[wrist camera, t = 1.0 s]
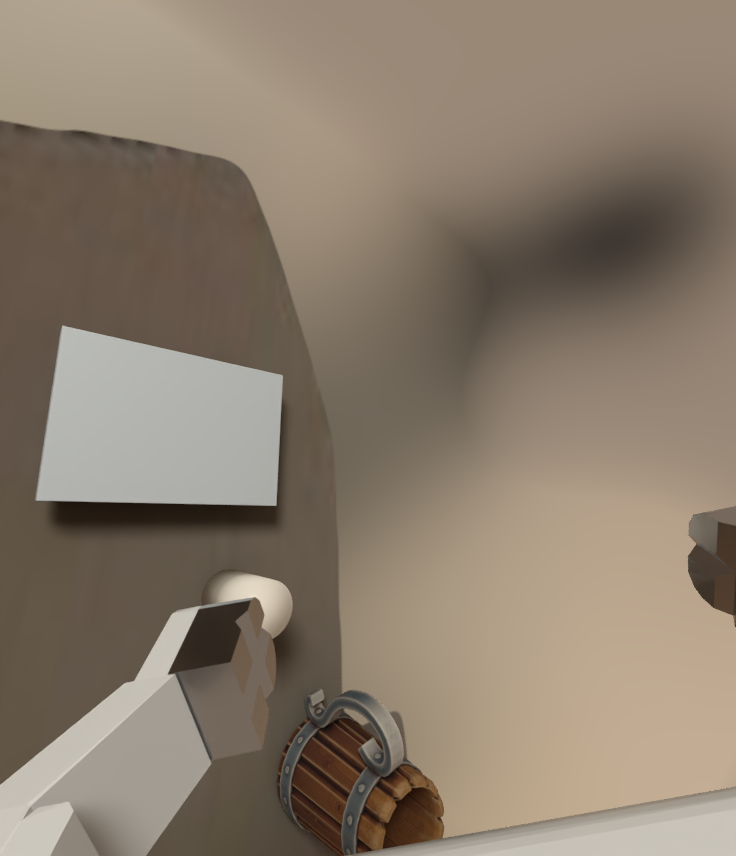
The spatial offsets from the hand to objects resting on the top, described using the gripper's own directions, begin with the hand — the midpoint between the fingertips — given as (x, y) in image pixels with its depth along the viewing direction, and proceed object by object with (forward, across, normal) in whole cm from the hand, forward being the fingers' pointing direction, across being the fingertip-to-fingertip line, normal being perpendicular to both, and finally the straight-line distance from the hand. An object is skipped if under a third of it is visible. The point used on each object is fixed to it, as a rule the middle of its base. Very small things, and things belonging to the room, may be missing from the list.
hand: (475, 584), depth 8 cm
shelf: (+36, +22, +4) cm, 42 cm away
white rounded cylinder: (+32, +20, +21) cm, 43 cm away
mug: (+30, +15, +40) cm, 52 cm away
